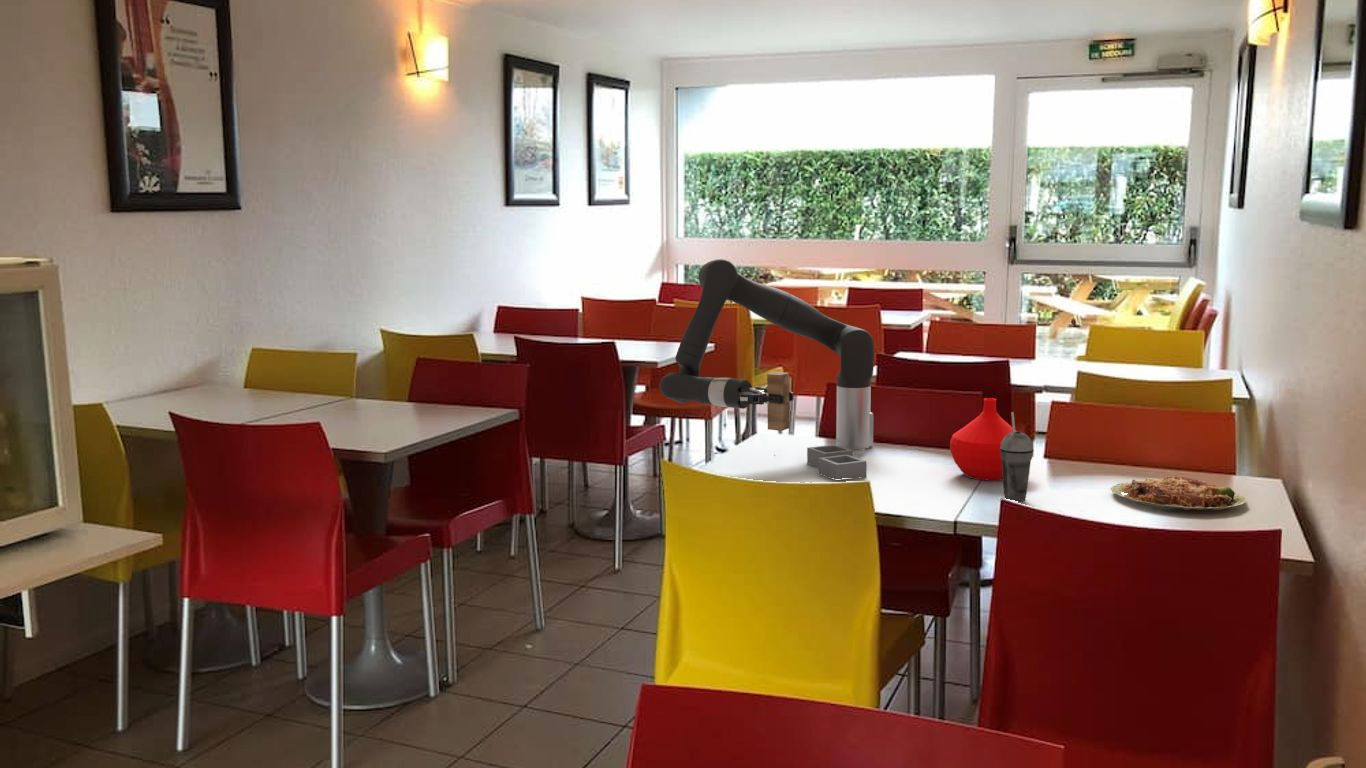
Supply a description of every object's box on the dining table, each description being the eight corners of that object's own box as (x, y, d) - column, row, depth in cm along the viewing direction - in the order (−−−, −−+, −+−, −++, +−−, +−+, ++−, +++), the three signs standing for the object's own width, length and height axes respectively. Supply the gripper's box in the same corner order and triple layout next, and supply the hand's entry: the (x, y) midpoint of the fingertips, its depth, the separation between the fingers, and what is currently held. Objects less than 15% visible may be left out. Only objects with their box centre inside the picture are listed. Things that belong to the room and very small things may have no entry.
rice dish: (1132, 484, 266) (1133, 462, 265) (1259, 497, 248) (1260, 473, 248) (1092, 508, 244) (1093, 484, 243) (1228, 524, 227) (1229, 498, 226)
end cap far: (834, 459, 291) (835, 444, 290) (852, 465, 283) (853, 450, 282) (807, 462, 287) (807, 447, 286) (824, 469, 279) (824, 453, 279)
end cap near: (847, 470, 278) (847, 454, 278) (866, 477, 270) (866, 461, 270) (818, 473, 275) (818, 458, 274) (837, 480, 267) (837, 464, 266)
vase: (1030, 486, 259) (1033, 406, 257) (950, 483, 263) (952, 404, 260) (1022, 469, 277) (1025, 393, 274) (948, 466, 281) (949, 392, 278)
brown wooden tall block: (775, 426, 279) (775, 371, 276) (789, 428, 276) (789, 372, 274) (767, 429, 275) (767, 373, 273) (781, 430, 273) (781, 375, 271)
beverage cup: (1036, 504, 243) (1039, 415, 240) (1002, 504, 244) (1005, 415, 241) (1026, 496, 251) (1029, 409, 248) (994, 496, 251) (997, 409, 248)
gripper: (714, 382, 276) (773, 387, 267) (744, 374, 288) (802, 379, 278) (715, 411, 278) (773, 417, 268) (745, 402, 289) (802, 408, 279)
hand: (788, 398), depth 273 cm, fingers closed on brown wooden tall block, 4 cm apart
